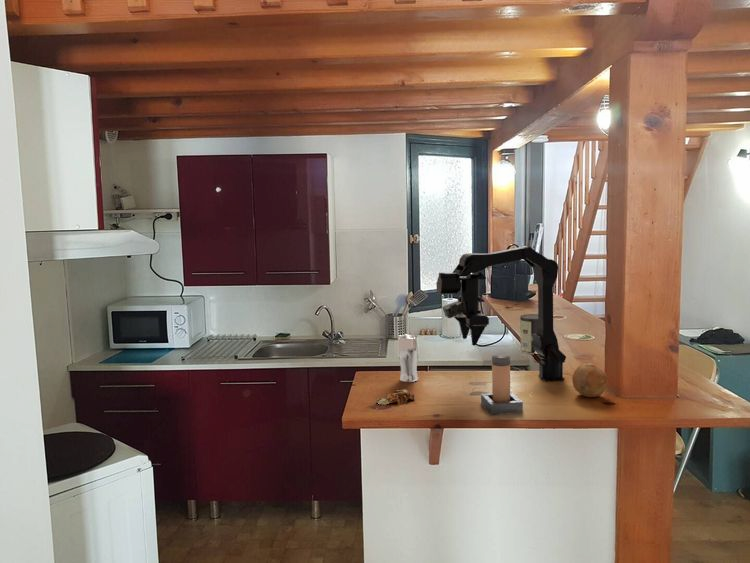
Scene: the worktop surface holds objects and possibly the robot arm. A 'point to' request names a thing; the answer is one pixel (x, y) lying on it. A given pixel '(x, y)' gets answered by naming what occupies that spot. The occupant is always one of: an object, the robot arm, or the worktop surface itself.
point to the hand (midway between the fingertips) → (469, 341)
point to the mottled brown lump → (397, 397)
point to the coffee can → (528, 332)
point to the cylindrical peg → (500, 378)
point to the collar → (502, 405)
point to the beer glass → (408, 357)
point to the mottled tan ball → (589, 380)
